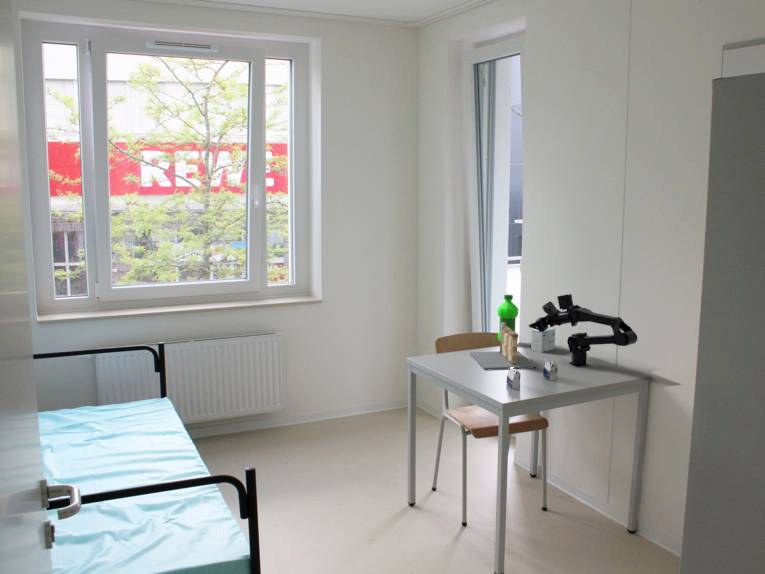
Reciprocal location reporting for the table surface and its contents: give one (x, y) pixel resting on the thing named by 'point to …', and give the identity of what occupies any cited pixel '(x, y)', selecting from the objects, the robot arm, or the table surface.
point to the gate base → (500, 358)
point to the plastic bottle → (507, 313)
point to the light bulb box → (543, 340)
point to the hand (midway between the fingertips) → (533, 323)
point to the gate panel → (509, 344)
